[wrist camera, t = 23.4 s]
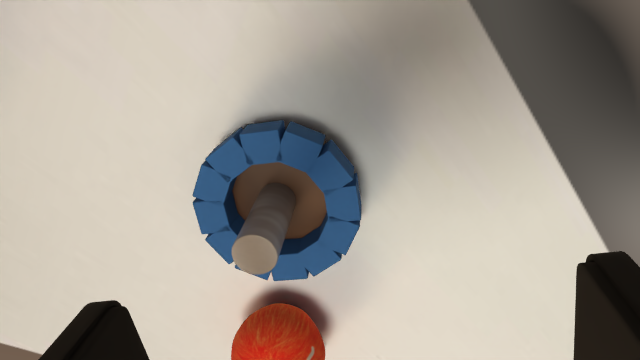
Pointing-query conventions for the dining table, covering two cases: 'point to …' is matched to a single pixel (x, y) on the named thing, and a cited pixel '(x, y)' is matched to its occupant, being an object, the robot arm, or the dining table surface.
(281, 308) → the apple
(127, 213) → the dining table surface
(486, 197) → the dining table surface
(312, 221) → the peg on square base
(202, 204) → the collar
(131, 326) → the robot arm
